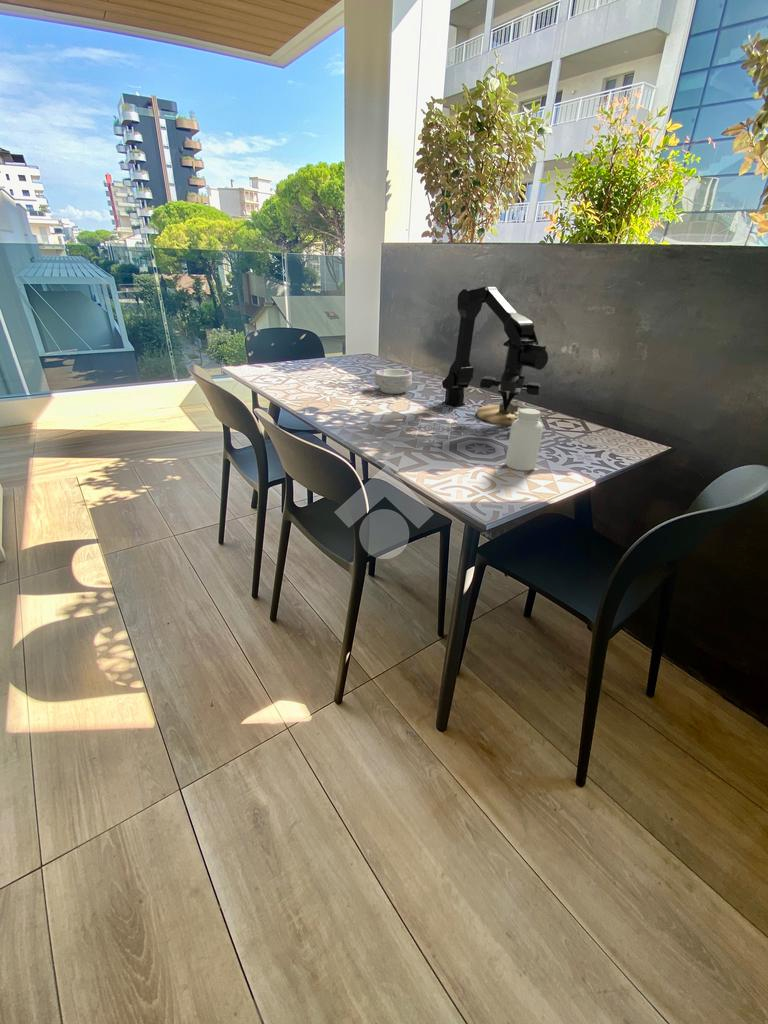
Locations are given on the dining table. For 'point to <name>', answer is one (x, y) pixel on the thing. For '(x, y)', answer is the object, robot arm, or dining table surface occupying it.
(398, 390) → the white stone bowl
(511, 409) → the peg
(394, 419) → the dining table surface
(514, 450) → the pill bottle
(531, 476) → the dining table surface
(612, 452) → the dining table surface
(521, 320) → the robot arm
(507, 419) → the dial board
